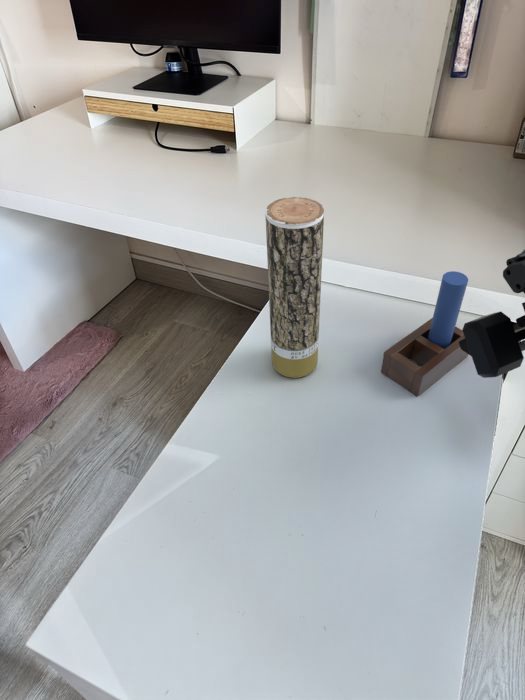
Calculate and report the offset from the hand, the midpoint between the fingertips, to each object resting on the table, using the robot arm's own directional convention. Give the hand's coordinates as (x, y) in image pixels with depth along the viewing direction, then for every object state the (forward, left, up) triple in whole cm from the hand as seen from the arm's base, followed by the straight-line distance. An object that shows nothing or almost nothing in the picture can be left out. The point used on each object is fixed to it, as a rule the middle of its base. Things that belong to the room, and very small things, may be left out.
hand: (489, 333), depth 63 cm
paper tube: (+20, +15, -10) cm, 27 cm away
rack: (+7, +1, -10) cm, 13 cm away
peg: (+7, -2, -10) cm, 13 cm away
